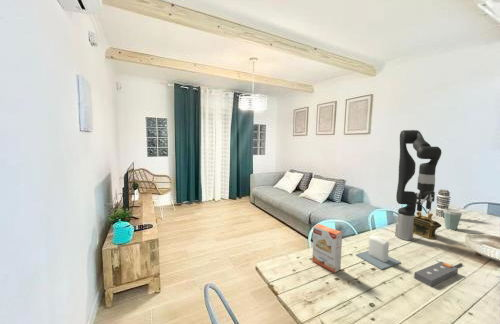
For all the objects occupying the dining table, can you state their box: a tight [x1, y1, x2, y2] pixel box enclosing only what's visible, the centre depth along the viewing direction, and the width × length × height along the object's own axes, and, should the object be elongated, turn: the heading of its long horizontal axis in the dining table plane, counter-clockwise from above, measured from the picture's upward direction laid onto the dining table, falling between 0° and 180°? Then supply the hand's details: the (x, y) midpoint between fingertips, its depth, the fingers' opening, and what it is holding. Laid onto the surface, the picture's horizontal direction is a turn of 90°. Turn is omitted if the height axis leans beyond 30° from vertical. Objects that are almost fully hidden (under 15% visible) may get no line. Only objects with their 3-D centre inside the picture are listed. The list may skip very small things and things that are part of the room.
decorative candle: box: [435, 189, 451, 218], centre depth 191 cm, size 9×9×25 cm
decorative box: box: [413, 208, 442, 240], centre depth 157 cm, size 20×10×20 cm, turn 19°
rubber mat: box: [355, 250, 402, 271], centre depth 123 cm, size 16×16×1 cm
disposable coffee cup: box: [443, 208, 463, 231], centre depth 166 cm, size 11×11×15 cm
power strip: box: [413, 261, 463, 288], centre depth 110 cm, size 7×37×4 cm, turn 114°
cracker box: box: [312, 223, 343, 274], centre depth 116 cm, size 14×6×21 cm, turn 37°
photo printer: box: [368, 235, 390, 262], centre depth 123 cm, size 10×4×12 cm, turn 24°
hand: (423, 210), depth 122 cm, fingers open, 8 cm apart
